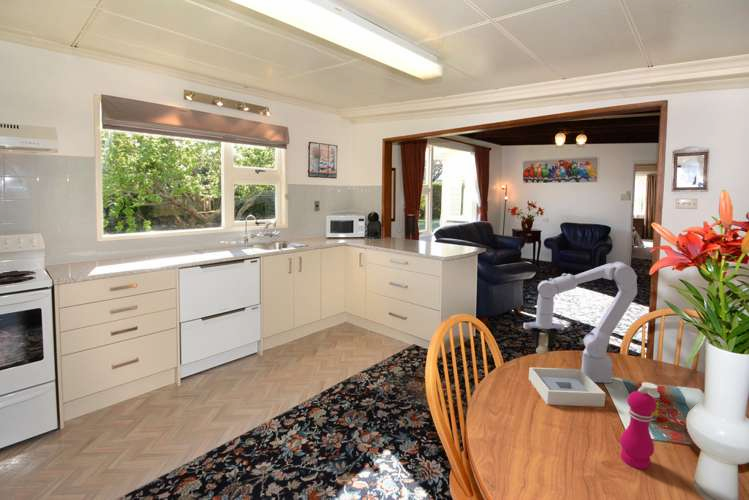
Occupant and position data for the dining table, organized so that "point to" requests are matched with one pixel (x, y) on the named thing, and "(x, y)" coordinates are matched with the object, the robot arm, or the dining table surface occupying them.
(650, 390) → the supplement bottle
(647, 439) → the pepper mill
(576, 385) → the bore plate
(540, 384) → the tray
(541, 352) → the peg
